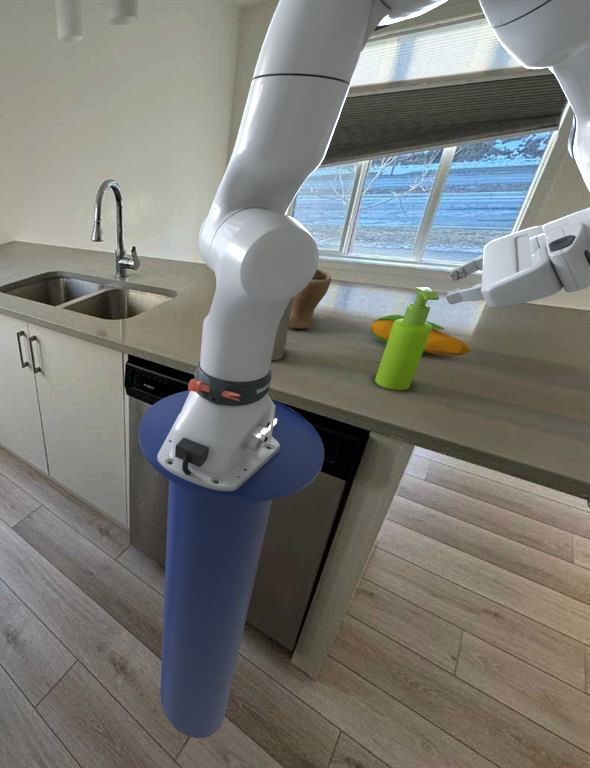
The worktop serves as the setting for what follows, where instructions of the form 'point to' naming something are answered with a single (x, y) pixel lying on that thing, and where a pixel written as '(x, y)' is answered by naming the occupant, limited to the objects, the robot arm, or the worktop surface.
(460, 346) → the corn
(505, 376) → the worktop surface
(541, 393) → the worktop surface
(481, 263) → the robot arm
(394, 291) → the worktop surface
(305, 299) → the stone cup
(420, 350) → the soap dispenser
